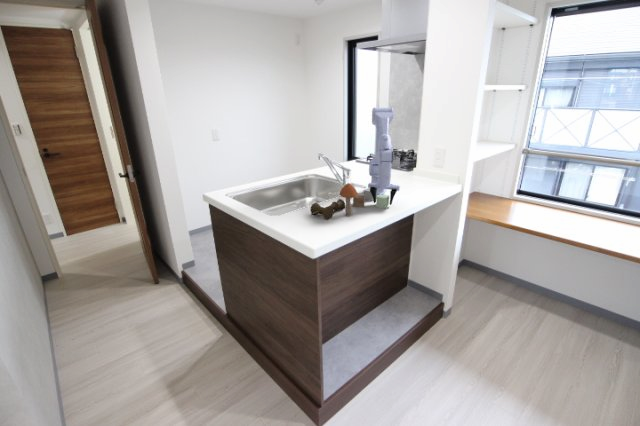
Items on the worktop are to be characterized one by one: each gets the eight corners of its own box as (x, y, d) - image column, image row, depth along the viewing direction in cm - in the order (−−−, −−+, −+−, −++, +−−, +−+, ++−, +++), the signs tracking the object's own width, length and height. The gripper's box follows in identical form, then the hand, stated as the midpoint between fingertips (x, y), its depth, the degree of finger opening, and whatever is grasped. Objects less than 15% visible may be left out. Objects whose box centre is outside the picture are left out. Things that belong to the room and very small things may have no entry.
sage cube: (378, 203, 157) (379, 194, 155) (388, 205, 155) (389, 195, 153) (376, 207, 152) (376, 197, 150) (386, 208, 150) (387, 198, 149)
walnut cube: (354, 203, 158) (354, 193, 156) (364, 204, 157) (364, 194, 155) (352, 207, 153) (353, 197, 151) (363, 207, 152) (363, 197, 150)
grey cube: (368, 197, 166) (368, 187, 165) (376, 198, 164) (377, 189, 162) (363, 199, 163) (363, 190, 161) (372, 201, 160) (372, 192, 158)
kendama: (349, 212, 148) (319, 223, 135) (334, 207, 155) (303, 218, 141) (350, 199, 146) (318, 210, 133) (334, 195, 153) (303, 205, 139)
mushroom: (342, 219, 139) (342, 186, 133) (336, 213, 146) (336, 181, 140) (359, 217, 141) (360, 184, 135) (353, 211, 148) (353, 179, 142)
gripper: (367, 176, 147) (365, 204, 152) (398, 179, 142) (396, 207, 147) (370, 172, 153) (369, 199, 158) (401, 175, 148) (399, 202, 153)
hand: (382, 203), depth 153 cm, fingers open, 7 cm apart
